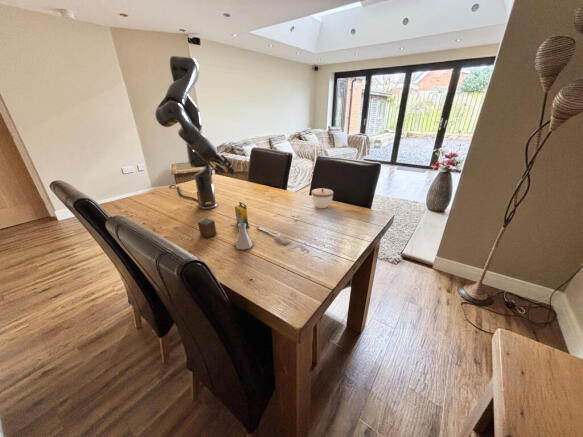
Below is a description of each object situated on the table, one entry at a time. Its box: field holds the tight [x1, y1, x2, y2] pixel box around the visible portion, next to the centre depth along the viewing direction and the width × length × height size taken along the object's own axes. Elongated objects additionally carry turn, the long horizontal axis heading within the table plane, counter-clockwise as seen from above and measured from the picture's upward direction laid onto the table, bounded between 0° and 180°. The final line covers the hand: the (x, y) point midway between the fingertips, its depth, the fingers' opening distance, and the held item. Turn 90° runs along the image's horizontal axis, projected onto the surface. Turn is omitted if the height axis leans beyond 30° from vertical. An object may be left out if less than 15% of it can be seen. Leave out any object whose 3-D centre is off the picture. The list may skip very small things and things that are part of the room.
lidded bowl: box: [311, 187, 334, 209], centre depth 138 cm, size 13×13×11 cm
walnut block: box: [197, 218, 217, 239], centre depth 108 cm, size 5×5×7 cm
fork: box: [257, 226, 290, 245], centre depth 108 cm, size 3×21×3 cm, turn 43°
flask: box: [235, 223, 254, 251], centre depth 98 cm, size 7×7×10 cm
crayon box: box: [234, 201, 249, 229], centre depth 115 cm, size 7×3×12 cm, turn 39°
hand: (228, 172), depth 110 cm, fingers open, 8 cm apart
